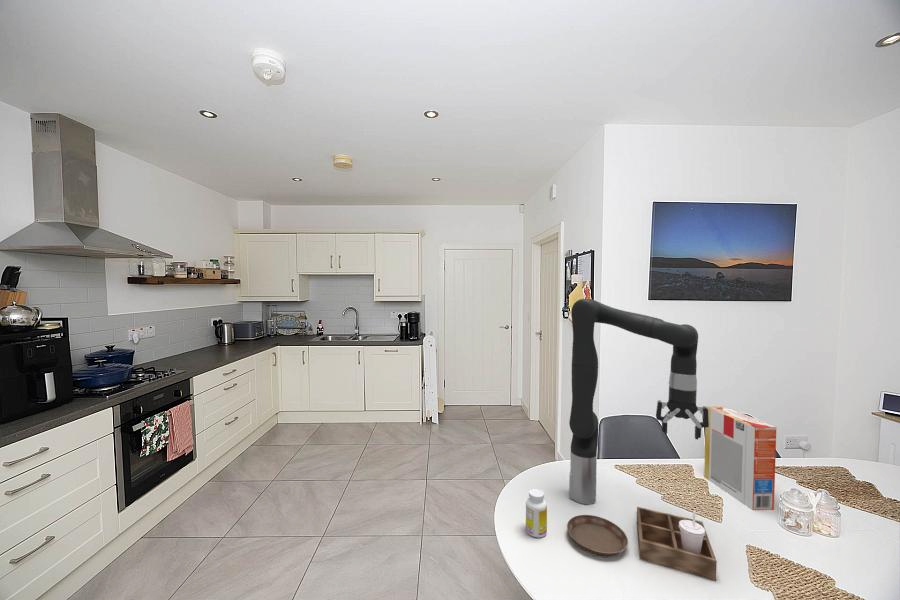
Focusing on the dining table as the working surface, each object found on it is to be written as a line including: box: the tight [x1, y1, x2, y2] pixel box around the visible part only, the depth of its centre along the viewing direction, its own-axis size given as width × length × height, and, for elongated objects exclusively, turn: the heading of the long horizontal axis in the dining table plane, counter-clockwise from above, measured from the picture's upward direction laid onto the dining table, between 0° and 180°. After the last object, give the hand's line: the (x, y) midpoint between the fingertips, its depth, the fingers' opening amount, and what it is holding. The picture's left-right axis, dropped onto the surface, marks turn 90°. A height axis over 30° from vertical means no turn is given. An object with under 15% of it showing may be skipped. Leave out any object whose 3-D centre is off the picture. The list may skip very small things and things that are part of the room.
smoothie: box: [679, 510, 706, 555], centre depth 104 cm, size 6×6×14 cm
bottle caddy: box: [636, 506, 718, 582], centre depth 110 cm, size 18×18×6 cm
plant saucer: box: [566, 514, 629, 558], centre depth 113 cm, size 18×18×3 cm
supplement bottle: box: [525, 488, 548, 538], centre depth 117 cm, size 7×7×13 cm
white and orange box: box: [703, 405, 777, 511], centre depth 141 cm, size 23×8×30 cm, turn 3°
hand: (680, 436), depth 117 cm, fingers open, 8 cm apart
